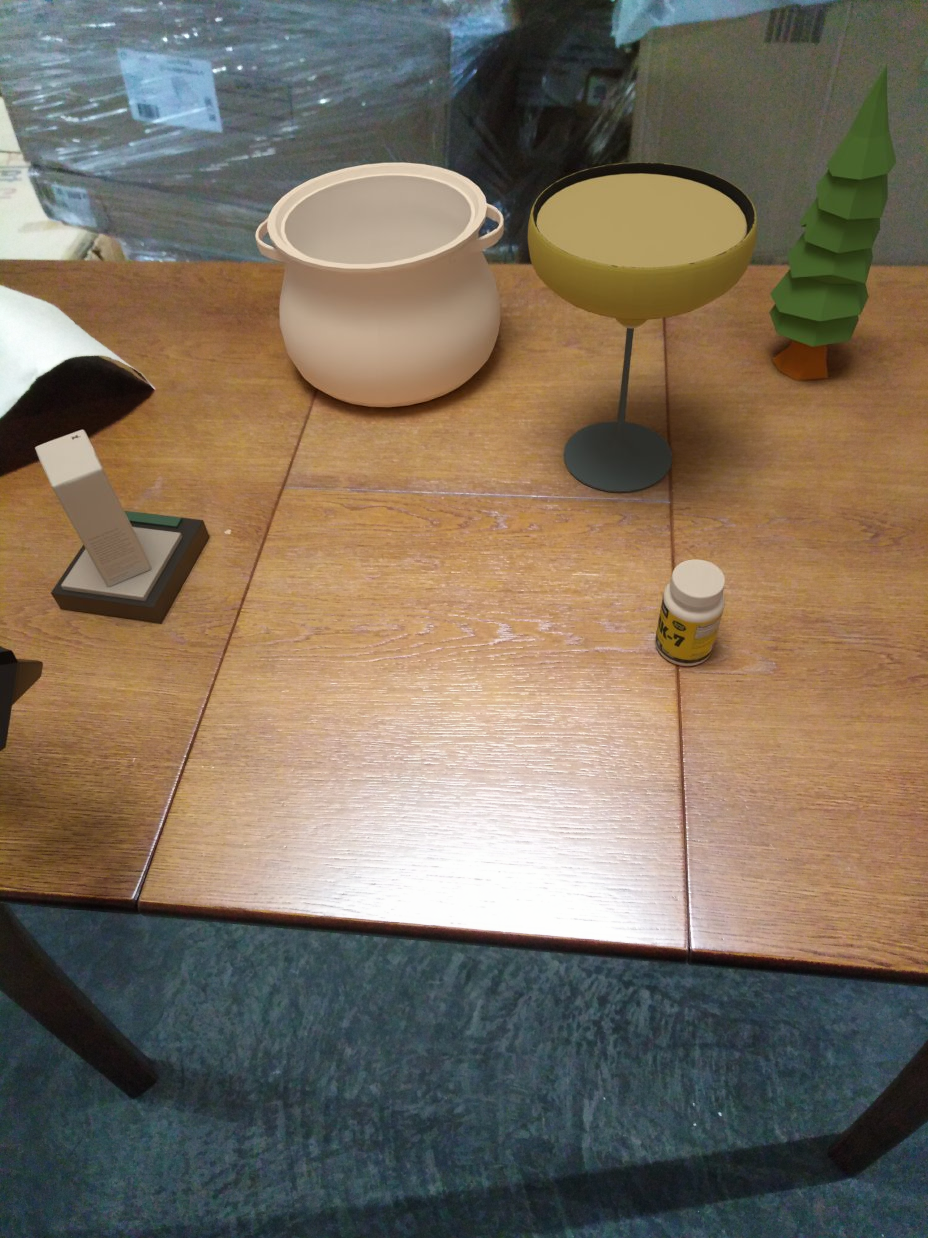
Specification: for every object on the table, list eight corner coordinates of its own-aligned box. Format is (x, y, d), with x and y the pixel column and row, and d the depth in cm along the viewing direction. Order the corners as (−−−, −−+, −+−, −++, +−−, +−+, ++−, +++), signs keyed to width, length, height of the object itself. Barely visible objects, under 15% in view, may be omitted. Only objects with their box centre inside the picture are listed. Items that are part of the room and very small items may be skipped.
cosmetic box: (88, 548, 82) (32, 445, 72) (133, 530, 83) (84, 426, 74) (106, 590, 78) (50, 487, 69) (153, 570, 79) (104, 466, 70)
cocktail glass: (696, 399, 95) (739, 155, 76) (722, 517, 84) (780, 265, 64) (526, 403, 96) (526, 164, 77) (528, 520, 85) (529, 274, 66)
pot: (504, 293, 111) (501, 151, 98) (508, 416, 95) (505, 267, 82) (300, 302, 112) (270, 163, 99) (270, 425, 96) (230, 280, 83)
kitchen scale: (60, 608, 81) (47, 588, 79) (115, 524, 88) (105, 503, 85) (161, 623, 79) (151, 602, 77) (209, 536, 86) (201, 515, 84)
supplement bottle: (643, 635, 75) (654, 567, 69) (691, 615, 76) (706, 546, 70) (675, 676, 72) (690, 609, 66) (724, 655, 73) (743, 587, 67)
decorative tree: (776, 393, 95) (856, 84, 72) (741, 344, 101) (805, 44, 78) (862, 378, 96) (969, 67, 73) (822, 331, 102) (909, 29, 79)
